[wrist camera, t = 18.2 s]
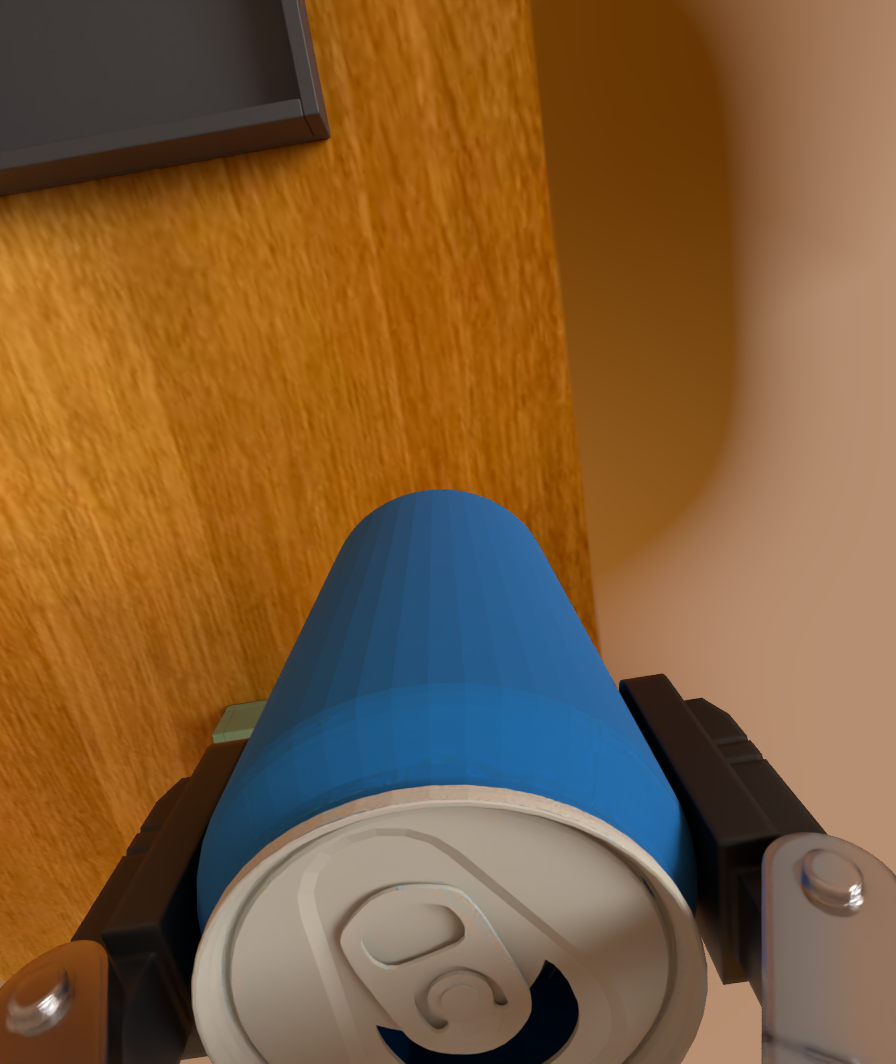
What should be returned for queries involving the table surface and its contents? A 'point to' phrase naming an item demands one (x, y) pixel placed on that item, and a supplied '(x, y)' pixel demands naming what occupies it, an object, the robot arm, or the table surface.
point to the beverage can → (446, 827)
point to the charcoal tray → (150, 85)
